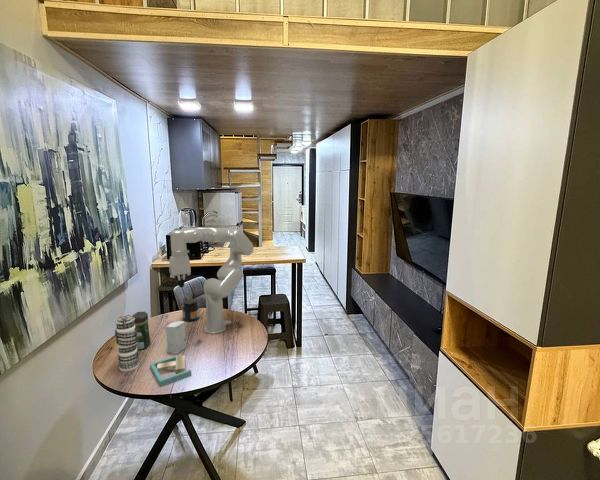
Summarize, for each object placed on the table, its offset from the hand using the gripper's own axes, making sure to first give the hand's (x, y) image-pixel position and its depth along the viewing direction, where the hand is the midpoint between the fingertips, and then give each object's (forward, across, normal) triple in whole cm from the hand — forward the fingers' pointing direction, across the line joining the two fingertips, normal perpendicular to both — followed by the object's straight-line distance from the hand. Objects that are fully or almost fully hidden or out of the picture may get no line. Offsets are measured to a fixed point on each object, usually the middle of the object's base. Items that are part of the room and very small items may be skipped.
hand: (181, 286), depth 172 cm
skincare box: (+32, +6, +6) cm, 33 cm away
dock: (+32, +14, +25) cm, 43 cm away
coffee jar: (+32, +20, -10) cm, 39 cm away
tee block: (+32, +14, +23) cm, 42 cm away
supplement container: (+32, -14, -30) cm, 46 cm away
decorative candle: (+32, +29, +8) cm, 44 cm away
